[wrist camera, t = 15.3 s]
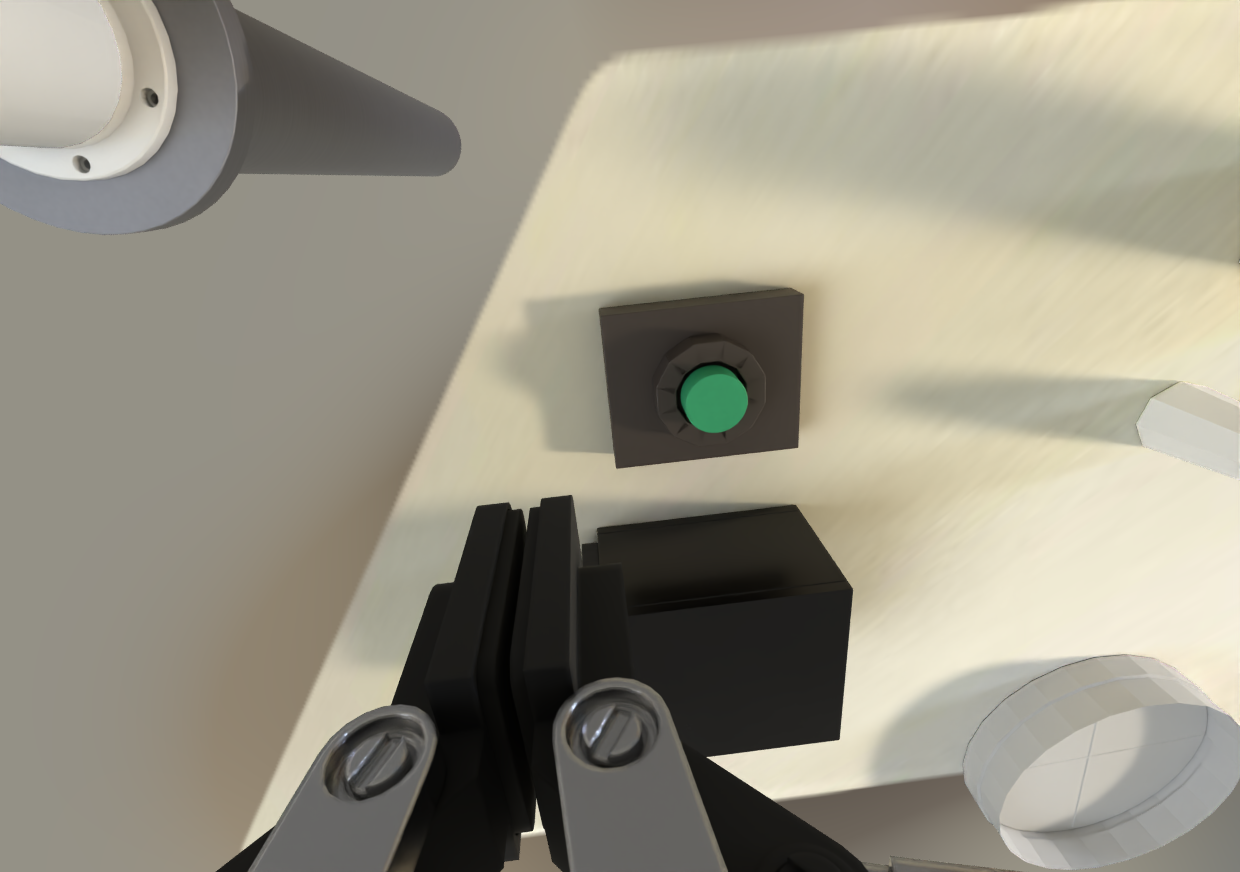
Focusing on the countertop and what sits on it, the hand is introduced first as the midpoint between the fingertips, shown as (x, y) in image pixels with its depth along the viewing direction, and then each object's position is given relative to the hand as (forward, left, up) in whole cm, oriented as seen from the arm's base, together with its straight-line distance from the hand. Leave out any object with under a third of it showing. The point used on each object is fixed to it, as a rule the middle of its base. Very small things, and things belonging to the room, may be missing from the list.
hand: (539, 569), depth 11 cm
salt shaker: (+13, +42, -27) cm, 52 cm away
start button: (+6, +8, -23) cm, 26 cm away
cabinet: (+23, +8, -27) cm, 36 cm away
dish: (+47, +43, -27) cm, 69 cm away
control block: (+6, +8, -27) cm, 29 cm away
